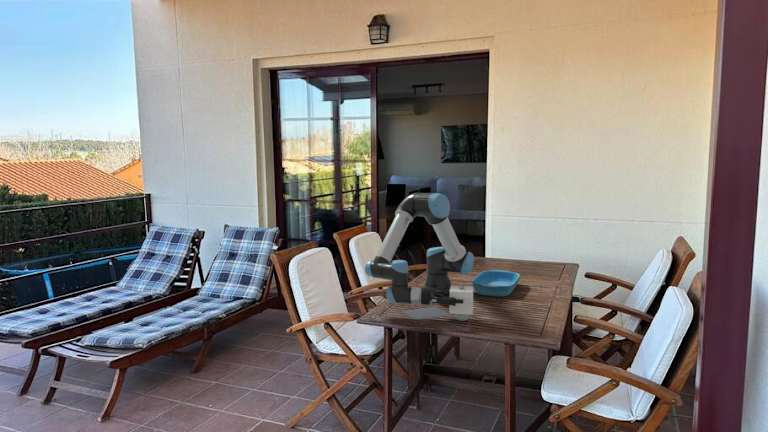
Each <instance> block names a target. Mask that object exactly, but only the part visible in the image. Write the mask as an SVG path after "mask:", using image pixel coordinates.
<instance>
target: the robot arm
mask: <svg viewBox="0 0 768 432" xmlns="http://www.w3.org/2000/svg"><path fill="white" fill-rule="evenodd" d="M450 211H451V204H450V201H449V198H448V196H446V195H445V194H444V193H443V194H442V193H439V192H434V193H433V192H413V193H411V194H410V195H408V196H406V197H405V198H404V199H403V200H402V201H401V202H400V203H399V204H398V206H397V208H396V210H395V212H394V215H395V217H394V218H393V221H392V223H391V225H390V227H389V228H388V231H387V232H386V235H385V237H384V239H383V241H382V243H381V245H380V247H379V249H378V251H377V253H376V255H375V257H374V259H373V260H368V262H366V263H365V265H364V271H365V274H366V276H368V277H370V278H374V279H382V280H388V281H391V285H389V286H387V288H386V300H387V302H388V303H392V304H405V305H406V304H407V305H408V304H410V305H414V306H416V305H424V306H425V305H426V306H427V305H430V304H431V303H432V304H438V305H439V304H446V305H453V306H456V304H467V305H471V298H457V297H456V298H450V288H451V286H452V283H451V281H450V277H449V273H455V274H459V275H460V274H461V275H467V274H468V275H469V273H471V271H472V270H473V267H474V264H475V257H474V253H472V252H471V251H468V252H467V249H466V247H465V246H464V245H462V244H461V243H460V242H459V239H458V237H457V235H456V232H455V230H454V228H453V226H452V224H451V222H450V219H449V214H450ZM416 217H422V218H423V217H424V219H425V221H426V222H427V223H428V224H429V225H431V226H432V228H433V230H434V232H435V233H436V236H437V238H438V240H439V242H440V243H441V246H437V247H430V248H428V249H427V250H426V277H425V280H424V283H423V287H419V286H409V264H408V261H406V260H405V259H404V260H403V259H395V260H393V257H394V256H395V254H396V252H397V249H398V247H399V245H400V243H401V241H402V239H403V237H404V236H405V233H406V231H407V230H408V229H407V228H408V227H409V224H410V223H412V222H413V221H414V219H415V218H416Z"/></svg>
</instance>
